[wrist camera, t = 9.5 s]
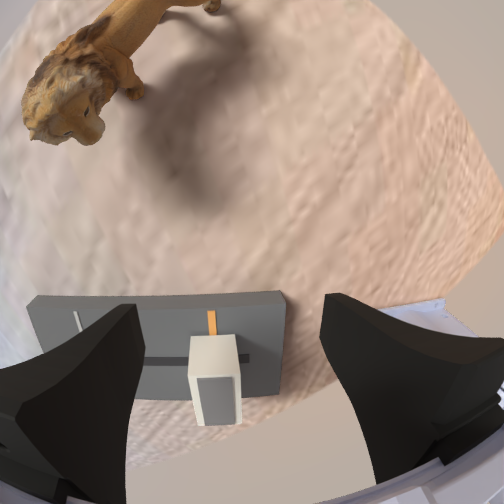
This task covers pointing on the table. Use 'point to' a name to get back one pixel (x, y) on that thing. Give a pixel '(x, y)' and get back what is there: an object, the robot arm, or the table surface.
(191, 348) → the fader knob
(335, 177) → the table surface
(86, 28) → the lion figurine
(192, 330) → the fader console
